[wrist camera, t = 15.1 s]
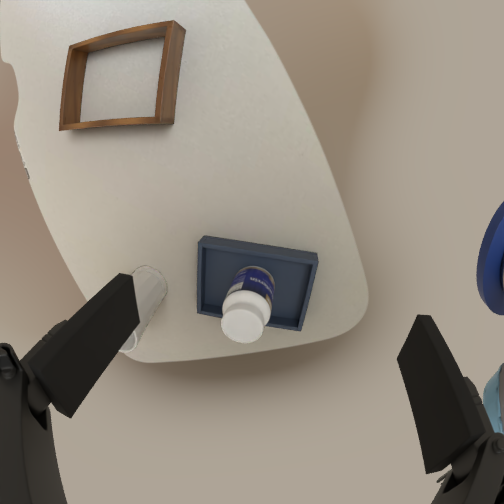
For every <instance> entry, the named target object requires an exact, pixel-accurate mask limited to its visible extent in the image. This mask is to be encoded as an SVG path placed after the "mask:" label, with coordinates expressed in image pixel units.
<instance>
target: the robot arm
mask: <svg viewBox="0 0 504 504" xmlns="http://www.w3.org/2000/svg"><path fill="white" fill-rule="evenodd" d="M500 285H501V288H502V291H503V292H504V253H503V257H502V261H501V266H500ZM139 323H140V318H139V312H138V307H137V301H136V295H135V288H134V281H133V276H132V275H127V274H122V273H119V274H118V275H117V276H116V277H115V278H113V279H112V280H111V281H110V282H109V283H108V284H107V285H106V286H104V287H103V288H102V289H101V290H100V291H99V292H98V293H97V294H96V295H95V296H94V297H92V298H91V299H90V300H89V301H88V302H87V303H86V304H85V305H84V306H83V307H82V308H81V309H80V310H79V311H78V312H76V314H74V315H73V316H72V317H71V318H70V319H69V320H68V321H67V320H64V321H62V322H60V323H58V324H57V325H55V326H54V327H53V328H52V329H51V330H50V331H49V332H48V334H46V335H45V336H44V337H43V338H42V340H40V341H39V342H38V343H37V344H36V345H35V346H34V347H33V348H32V349H31V350H30V351H29V352H28V353H27V354H26V355H25V356H24V357H23V358H22V359H21V360H20V361H19V359H18V357H17V355H16V353H15V352H14V350H13V348H12V346H11V345H10V344H7V343H0V504H67V501H66V497H65V494H64V490H63V486H62V482H61V478H60V473H59V468H58V464H57V458H56V453H55V447H54V440H53V433H52V424H51V414H50V409H49V407H48V405H49V404H50V403H52V404H53V405H54V407H55V408H56V410H57V411H59V412H60V413H62V414H64V415H65V416H67V417H69V418H72V416H73V415H74V413H75V412H76V410H77V409H78V407H79V405H80V404H81V403H82V401H83V400H84V398H85V397H86V396H87V394H88V393H89V391H90V390H91V389H92V387H93V386H94V384H95V383H96V381H97V380H98V379H99V377H100V376H101V374H102V373H103V372H104V370H105V369H106V368H107V366H108V365H109V363H110V362H111V361H112V359H113V358H114V357H115V355H116V354H117V353H118V351H119V350H120V349H121V347H122V346H123V345H124V343H125V342H126V341H127V339H128V338H129V337H130V335H131V334H132V333H133V331H134V330H135V329H136V327H137V326H138V325H139ZM397 361H398V364H399V368H400V371H401V374H402V377H403V380H404V383H405V387H406V390H407V394H408V397H409V401H410V405H411V408H412V412H413V416H414V420H415V424H416V428H417V432H418V436H419V440H420V445H421V450H422V455H423V460H424V465H425V471H426V474H429V473H434V472H438V471H441V470H443V469H444V468H445V467H447V466H448V465H449V464H451V466H452V469H451V470H450V471H448V472H447V473H446V474H444V475H443V476H441V477H440V478H439V479H438V480H437V483H438V482H440V481H442V480H443V479H444V478H445V479H444V481H443V483H441V487H440V489H439V491H438V493H437V494H436V496H435V498H434V500H433V501H432V503H431V504H504V363H503V364H502V365H501V366H500V368H499V370H498V371H497V372H496V373H495V374H494V376H493V377H492V378H491V379H490V380H489V381H488V383H487V384H486V386H485V389H484V393H483V404H482V400H481V398H480V397H479V394H478V391H477V389H476V387H475V385H474V384H473V383H472V382H471V381H470V379H469V378H468V377H463V376H462V373H461V371H460V369H459V367H458V365H457V363H456V361H455V359H454V357H453V355H452V353H451V351H450V349H449V348H448V346H447V344H446V342H445V340H444V338H443V337H442V335H441V333H440V331H439V329H438V328H437V326H436V324H435V322H434V321H433V319H432V317H431V316H430V315H417V317H416V319H415V322H414V324H413V326H412V328H411V330H410V333H409V335H408V337H407V339H406V341H405V343H404V345H403V347H402V349H401V351H400V353H399V355H398V357H397Z"/></svg>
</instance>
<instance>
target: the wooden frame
mask: <svg viewBox="0 0 504 504" xmlns="http://www.w3.org/2000/svg"><path fill="white" fill-rule="evenodd" d="M185 32H186V30H185V29H184V28H183V27H182V26H181V25H179V24H178V23H177V22H176V21H174V20H172V21H165V22H159V23H153V24H147V25H142V26H137V27H132V28H128V29H124V30H120V31H116V32H112V33H108V34H105V35H101V36H98V37H94V38H91V39H88V40H85V41H82V42H79V43H76V44H73V45H70V46H69V50H68V55H67V61H66V67H65V73H64V80H63V88H62V97H61V108H60V122H59V131H64V130H73V129H83V128H92V127H103V126H117V125H137V124H174V115H175V105H176V95H177V87H178V78H179V71H180V64H181V57H182V50H183V44H184V38H185ZM160 37H165V42H164V47H163V54H162V60H161V67H160V74H159V82H158V90H157V100H156V110H155V117H137V118H121V119H109V120H98V121H89V122H81V123H80V111H81V99H82V90H83V82H84V74H85V68H86V62H87V56H88V53H89V52H93V51H96V50H100V49H104V48H108V47H112V46H116V45H121V44H125V43H130V42H135V41H141V40H146V39H153V38H160Z"/></svg>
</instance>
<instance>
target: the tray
mask: <svg viewBox="0 0 504 504" xmlns="http://www.w3.org/2000/svg"><path fill="white" fill-rule="evenodd" d="M248 266H258V267H261V268H263V269H265V270H267V271H268V272H269V273H270V274H271V276H272V277H273V279H274V283H275V289H274V296H273V302H272V308H271V315H270V318H269V321H268V323H267V324H266V325H265V326H269V327H275V328H282V329H288V330H295V331H301V329H302V326H303V322H304V318H305V314H306V311H307V307H308V303H309V299H310V295H311V291H312V287H313V283H314V279H315V274H316V270H317V266H318V256H317V253H314V252H307V251H301V250H295V249H289V248H282V247H276V246H269V245H263V244H257V243H250V242H244V241H237V240H231V239H224V238H218V237H211V236H203V237H202V239H201V240H200V241H199V242H198V265H197V313H199V314H204V315H209V316H213V317H219V318H222V317H223V311H222V307H223V303H224V300H225V298H226V296H227V293H228V291H229V289H230V286H231V284H232V282H233V279H234V277H235V275H236V274H237V273H238V272H239V271H240V270H241V269H243V268H245V267H248Z"/></svg>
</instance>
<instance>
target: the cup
mask: <svg viewBox="0 0 504 504" xmlns="http://www.w3.org/2000/svg"><path fill="white" fill-rule="evenodd" d="M131 275H132V276H133V281H134V288H135V295H136V301H137V307H138V312H139V318H140V323H139V325H138V326H137V327H136V329H135V330H134V331H133V333H132V334H131V335H130V337H129V338H128V339H127V341H126V342H125V343H124V345H123V346H122V347H121V349H120V350H119V352H131V351H133V350H134V349H135V348H136V346H137V344H138V342H139V340H140V338H141V337H142V335H143V333H144V331H145V328H146V326H147V325H148V323H149V321H150V319H151V318H152V316H153V314H154V313H155V311H156V309H157V307H158V306H159V304H160V302H161V301H162V300H163V298H164V297H165V296H166V294H167V283H166V281H165V279H164V277H163V276H162V275H161V273H160V272H158V271H157V270H156V269H154V268H152V267H149V266H141V267H139V268H137V269H136V270H135V271H134V272H133V273H132V274H131Z"/></svg>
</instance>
